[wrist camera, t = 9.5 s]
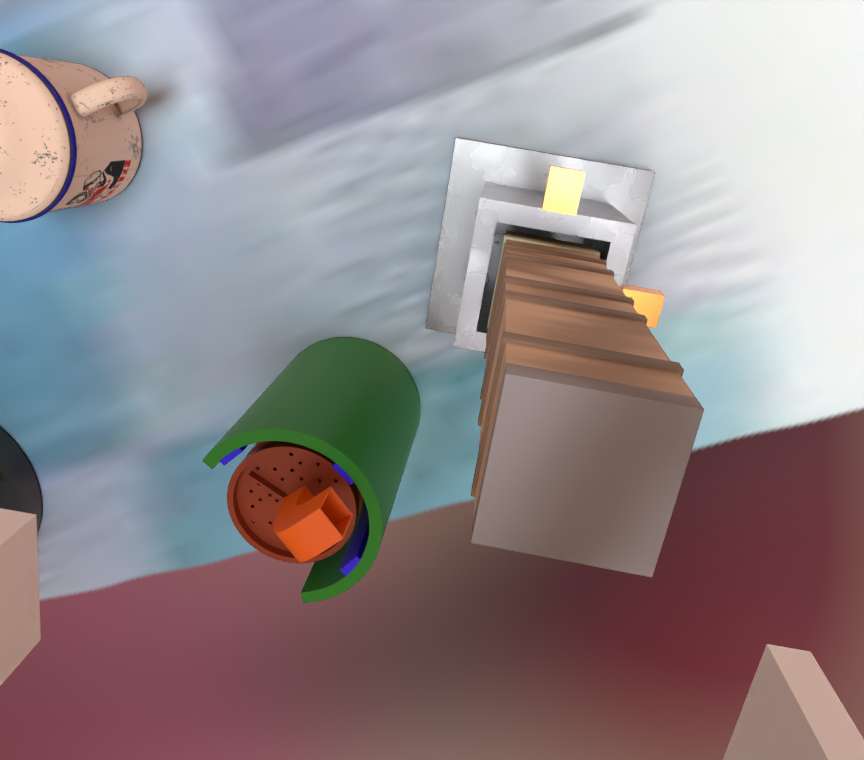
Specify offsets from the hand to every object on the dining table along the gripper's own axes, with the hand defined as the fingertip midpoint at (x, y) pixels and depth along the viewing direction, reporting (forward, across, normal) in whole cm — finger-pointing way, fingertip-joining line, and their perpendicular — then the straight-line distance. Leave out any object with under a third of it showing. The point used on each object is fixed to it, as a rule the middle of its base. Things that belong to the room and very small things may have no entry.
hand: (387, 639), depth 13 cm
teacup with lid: (+38, -25, +5) cm, 45 cm away
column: (+27, +4, +2) cm, 28 cm away
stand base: (+37, +4, +2) cm, 37 cm away
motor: (+37, -6, -11) cm, 39 cm away
